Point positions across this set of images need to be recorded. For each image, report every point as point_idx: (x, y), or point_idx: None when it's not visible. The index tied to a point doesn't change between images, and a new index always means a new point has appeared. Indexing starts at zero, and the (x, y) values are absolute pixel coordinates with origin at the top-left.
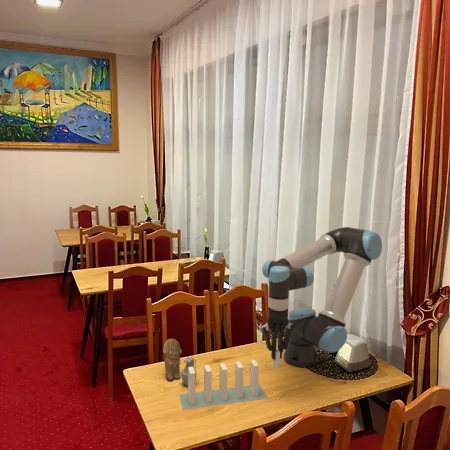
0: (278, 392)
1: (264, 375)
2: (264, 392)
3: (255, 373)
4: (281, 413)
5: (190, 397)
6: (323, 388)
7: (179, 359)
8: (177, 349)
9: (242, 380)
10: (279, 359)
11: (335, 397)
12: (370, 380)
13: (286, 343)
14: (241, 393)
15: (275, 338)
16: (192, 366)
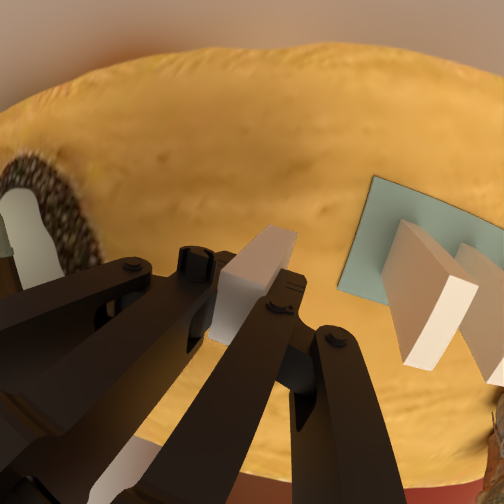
0: (296, 199)
1: None
2: (361, 224)
3: (450, 261)
4: (379, 64)
5: None
6: (122, 143)
7: (497, 473)
8: (498, 500)
9: (497, 272)
10: (250, 244)
11: (124, 79)
12: (20, 139)
13: (88, 285)
14: (473, 250)
15: (204, 440)
16: (500, 442)
